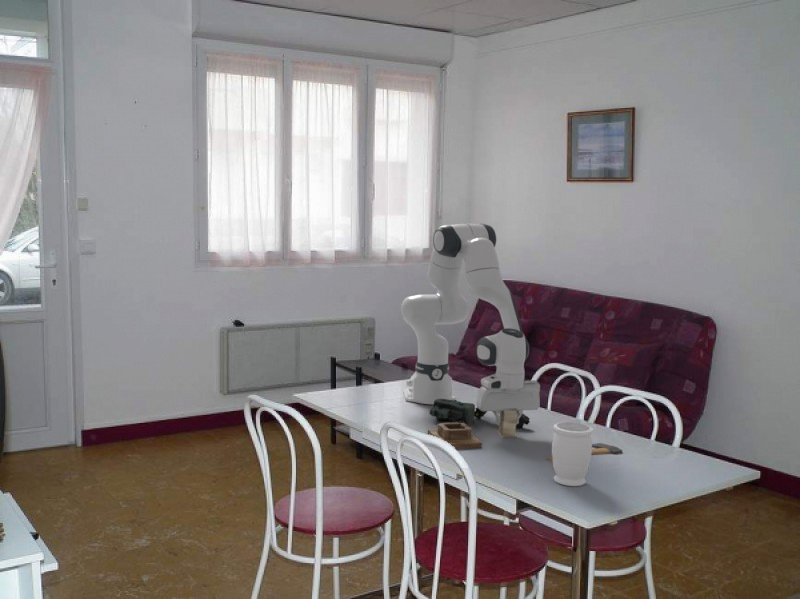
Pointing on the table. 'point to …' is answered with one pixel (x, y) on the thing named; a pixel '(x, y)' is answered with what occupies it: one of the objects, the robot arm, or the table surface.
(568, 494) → the table surface
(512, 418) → the maple post
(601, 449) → the hand axe
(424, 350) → the robot arm
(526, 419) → the pistol
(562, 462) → the jar
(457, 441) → the walnut base
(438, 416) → the sculpture
